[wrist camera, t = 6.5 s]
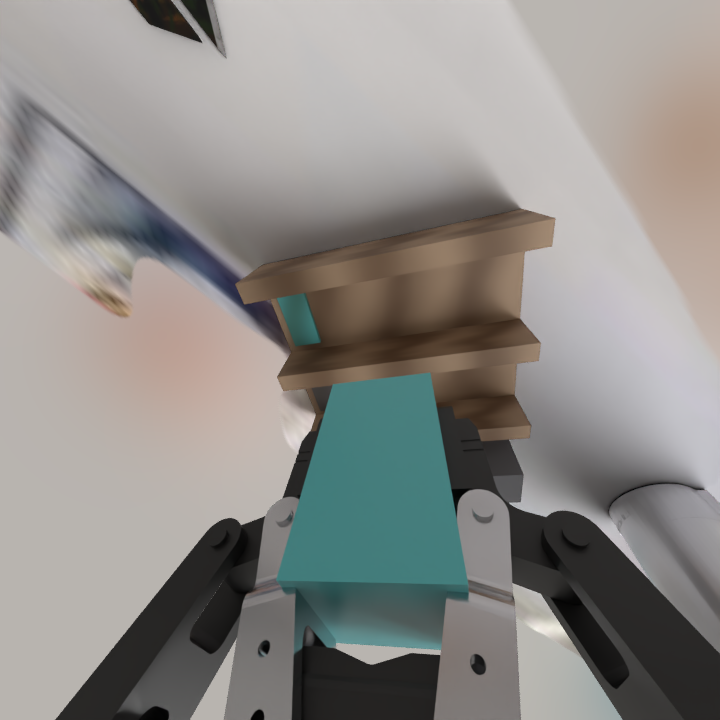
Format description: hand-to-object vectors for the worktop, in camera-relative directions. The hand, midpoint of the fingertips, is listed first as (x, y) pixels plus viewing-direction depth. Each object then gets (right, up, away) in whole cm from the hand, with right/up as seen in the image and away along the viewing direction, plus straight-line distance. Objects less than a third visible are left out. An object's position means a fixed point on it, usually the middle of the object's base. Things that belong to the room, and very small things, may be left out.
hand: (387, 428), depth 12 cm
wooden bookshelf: (+2, +5, +15) cm, 16 cm away
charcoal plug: (+12, -5, +20) cm, 24 cm away
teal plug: (0, 0, +1) cm, 1 cm away
